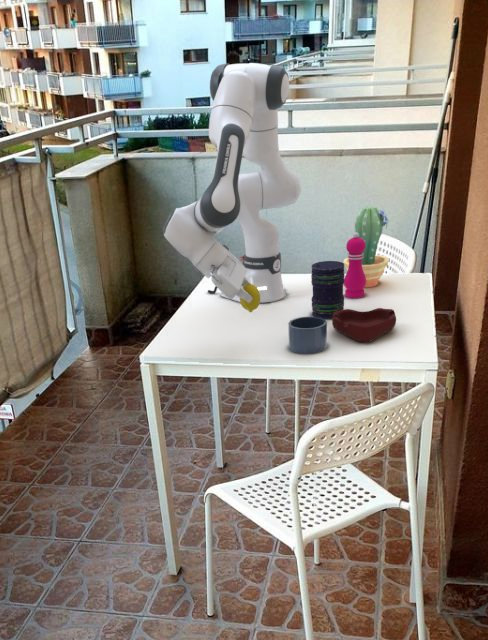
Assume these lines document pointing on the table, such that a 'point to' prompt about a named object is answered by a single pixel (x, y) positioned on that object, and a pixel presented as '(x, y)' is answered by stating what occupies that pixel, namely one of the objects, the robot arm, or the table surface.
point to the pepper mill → (355, 268)
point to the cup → (307, 335)
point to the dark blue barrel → (327, 288)
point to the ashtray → (364, 323)
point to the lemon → (255, 301)
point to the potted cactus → (371, 243)
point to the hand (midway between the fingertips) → (252, 296)
